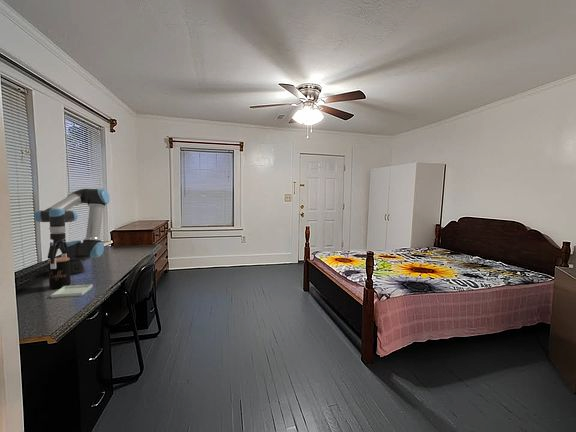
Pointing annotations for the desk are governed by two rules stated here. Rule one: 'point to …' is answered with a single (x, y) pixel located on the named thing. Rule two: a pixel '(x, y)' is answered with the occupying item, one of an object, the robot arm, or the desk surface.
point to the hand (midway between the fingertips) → (59, 266)
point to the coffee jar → (60, 273)
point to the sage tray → (72, 291)
